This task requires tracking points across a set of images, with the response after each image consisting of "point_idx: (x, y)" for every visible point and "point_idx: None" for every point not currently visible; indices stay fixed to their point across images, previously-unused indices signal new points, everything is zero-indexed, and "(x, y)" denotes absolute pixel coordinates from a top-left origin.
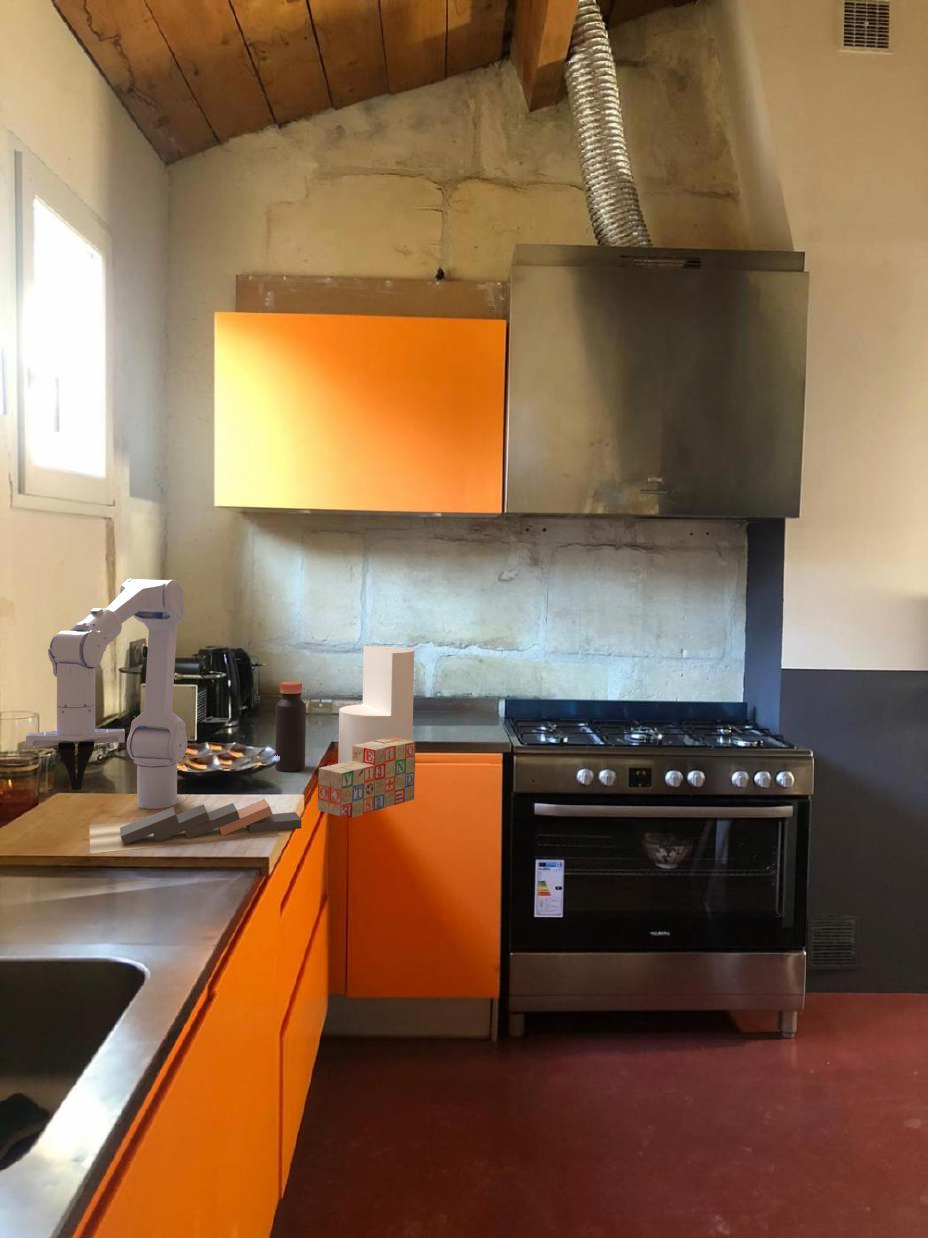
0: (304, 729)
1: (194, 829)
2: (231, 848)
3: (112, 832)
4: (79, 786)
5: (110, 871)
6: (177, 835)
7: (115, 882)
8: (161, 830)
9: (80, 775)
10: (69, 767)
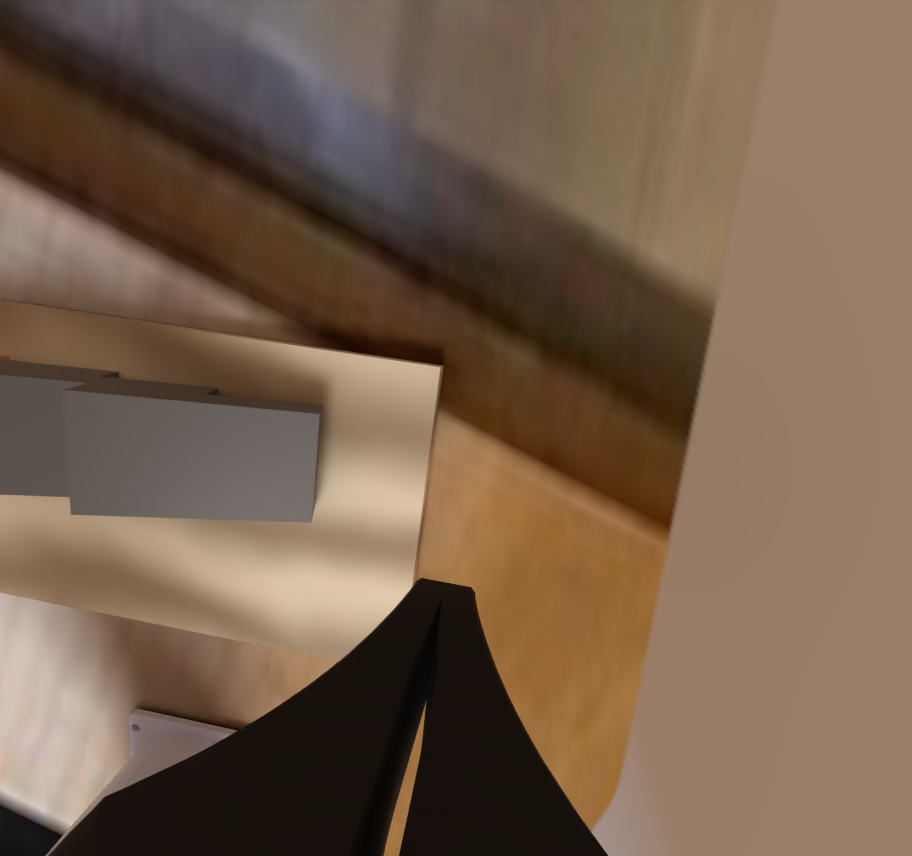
0: None
1: (62, 371)
2: (7, 271)
3: (342, 564)
4: (423, 588)
5: (397, 202)
6: None
7: (397, 60)
8: (170, 390)
9: (398, 630)
10: (488, 713)
